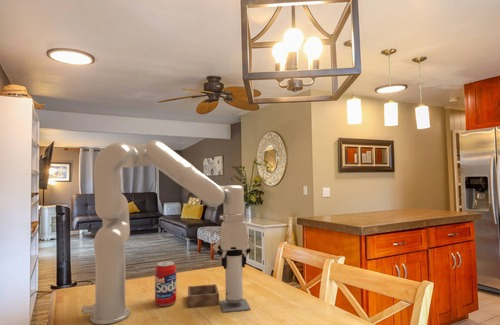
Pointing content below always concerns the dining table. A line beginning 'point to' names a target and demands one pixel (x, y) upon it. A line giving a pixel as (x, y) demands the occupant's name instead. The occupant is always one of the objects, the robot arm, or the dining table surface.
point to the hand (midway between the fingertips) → (234, 266)
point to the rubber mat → (234, 306)
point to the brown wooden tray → (203, 295)
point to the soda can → (165, 283)
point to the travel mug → (234, 276)
